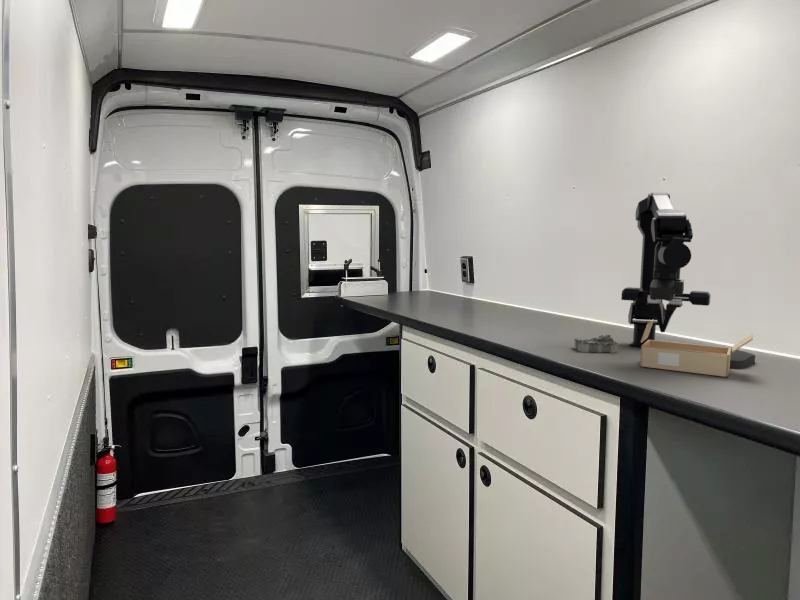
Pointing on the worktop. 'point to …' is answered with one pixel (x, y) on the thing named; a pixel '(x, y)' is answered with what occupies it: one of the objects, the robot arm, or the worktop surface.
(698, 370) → the carton
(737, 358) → the media streaming box
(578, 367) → the worktop surface
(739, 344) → the flap
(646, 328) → the flap
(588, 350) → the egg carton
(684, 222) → the robot arm
